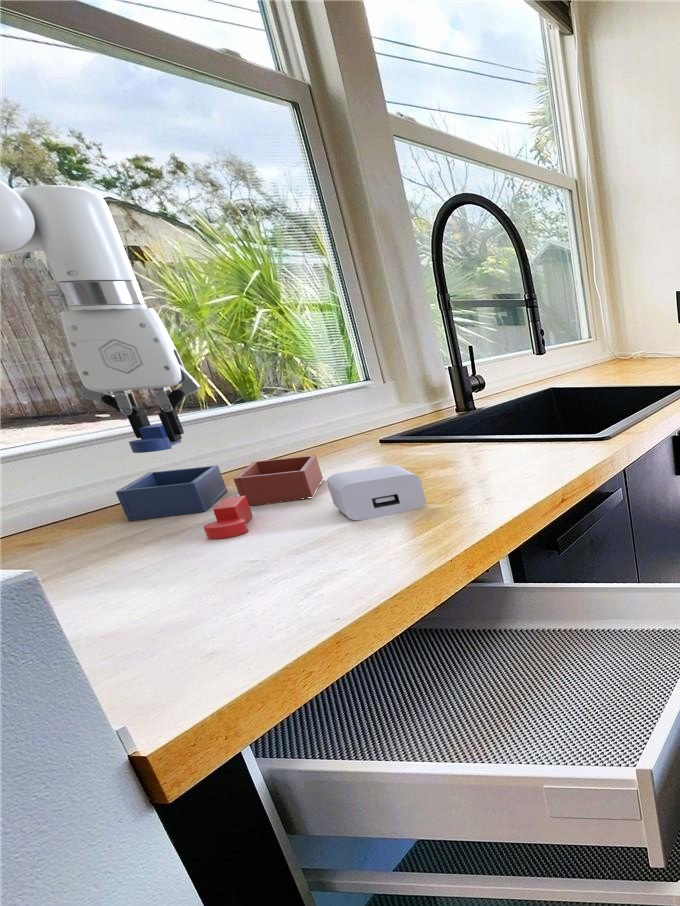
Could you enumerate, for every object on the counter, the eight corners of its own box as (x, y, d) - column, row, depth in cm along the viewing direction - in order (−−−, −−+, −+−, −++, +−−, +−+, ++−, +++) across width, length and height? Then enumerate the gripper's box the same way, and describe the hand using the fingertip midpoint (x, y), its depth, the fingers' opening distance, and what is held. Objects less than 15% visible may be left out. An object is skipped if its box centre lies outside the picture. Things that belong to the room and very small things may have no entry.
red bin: (243, 506, 96) (233, 478, 94) (261, 487, 107) (252, 461, 105) (312, 498, 99) (304, 470, 98) (323, 480, 110) (315, 455, 108)
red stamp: (244, 535, 83) (236, 513, 82) (203, 541, 82) (194, 518, 80) (261, 515, 92) (253, 494, 90) (224, 519, 90) (216, 499, 89)
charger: (398, 489, 103) (427, 507, 92) (326, 501, 97) (349, 522, 87) (389, 457, 101) (418, 472, 91) (316, 468, 95) (338, 485, 85)
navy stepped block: (166, 450, 91) (158, 428, 90) (128, 454, 90) (119, 432, 89) (189, 441, 100) (181, 421, 99) (154, 444, 98) (146, 424, 97)
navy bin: (128, 521, 91) (115, 491, 89) (159, 499, 102) (148, 472, 100) (205, 511, 94) (194, 482, 93) (227, 491, 105) (218, 465, 103)
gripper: (6, 300, 83) (77, 453, 90) (173, 295, 89) (227, 438, 96) (35, 300, 89) (99, 444, 96) (190, 296, 95) (238, 431, 103)
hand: (162, 440), depth 96 cm, fingers closed on navy stepped block, 2 cm apart
